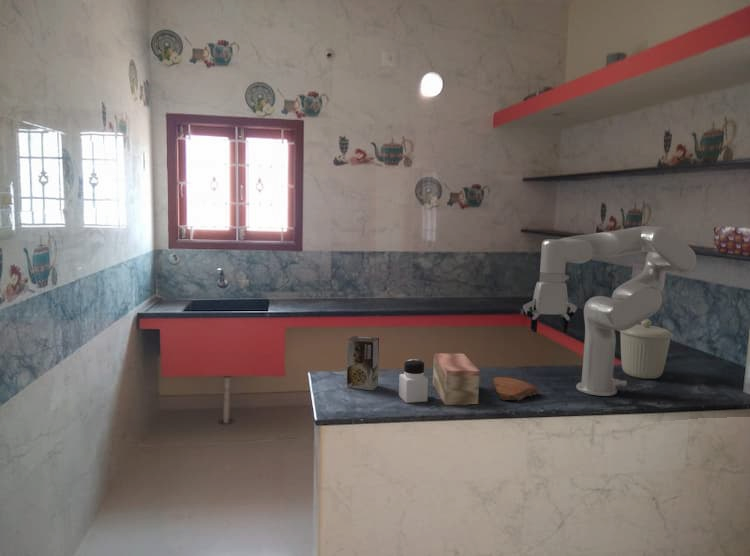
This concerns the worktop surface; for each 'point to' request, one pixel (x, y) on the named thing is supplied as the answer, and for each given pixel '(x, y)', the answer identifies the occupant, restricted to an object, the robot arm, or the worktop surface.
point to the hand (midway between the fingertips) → (548, 331)
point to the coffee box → (362, 362)
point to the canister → (644, 350)
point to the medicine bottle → (413, 382)
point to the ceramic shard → (513, 388)
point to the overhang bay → (455, 379)
